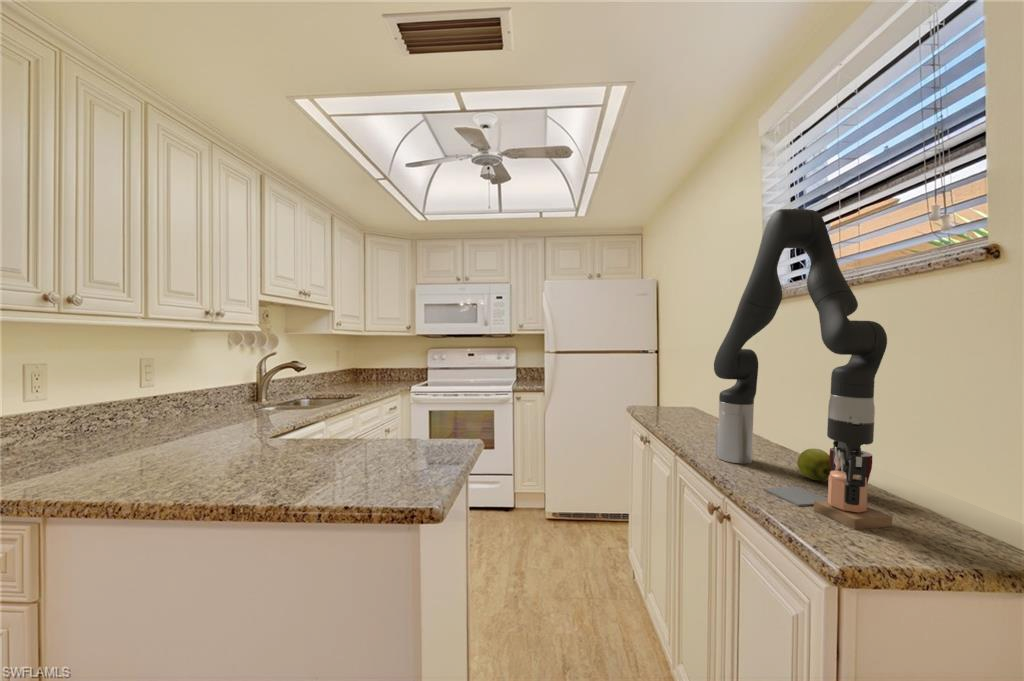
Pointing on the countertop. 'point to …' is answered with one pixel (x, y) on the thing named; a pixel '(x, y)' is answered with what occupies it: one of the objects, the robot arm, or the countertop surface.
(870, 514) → the post block
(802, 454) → the apple
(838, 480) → the cap
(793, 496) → the mat
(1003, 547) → the countertop surface
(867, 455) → the mug
